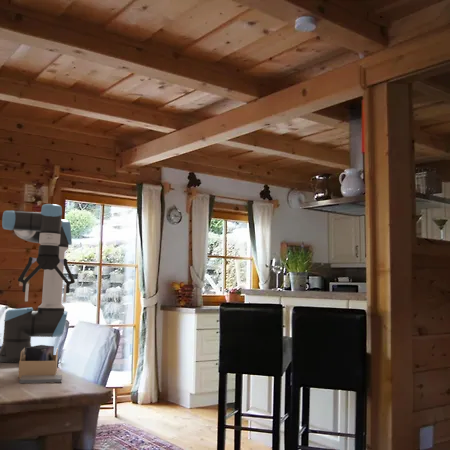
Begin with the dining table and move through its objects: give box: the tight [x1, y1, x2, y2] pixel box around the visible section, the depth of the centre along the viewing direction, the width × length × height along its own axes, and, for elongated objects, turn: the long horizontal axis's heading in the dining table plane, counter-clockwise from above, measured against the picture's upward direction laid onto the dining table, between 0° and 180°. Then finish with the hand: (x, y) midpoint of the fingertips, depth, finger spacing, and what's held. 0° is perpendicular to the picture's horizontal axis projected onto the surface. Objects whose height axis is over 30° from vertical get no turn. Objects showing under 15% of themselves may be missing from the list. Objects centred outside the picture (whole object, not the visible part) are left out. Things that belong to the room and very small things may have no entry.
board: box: [19, 374, 63, 384], centre depth 197 cm, size 10×14×1 cm
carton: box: [17, 347, 59, 379], centre depth 212 cm, size 19×13×9 cm
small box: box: [25, 344, 55, 361], centre depth 212 cm, size 11×6×10 cm, turn 168°
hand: (45, 301), depth 205 cm, fingers open, 13 cm apart
